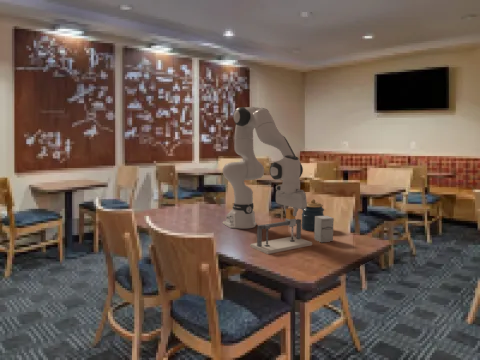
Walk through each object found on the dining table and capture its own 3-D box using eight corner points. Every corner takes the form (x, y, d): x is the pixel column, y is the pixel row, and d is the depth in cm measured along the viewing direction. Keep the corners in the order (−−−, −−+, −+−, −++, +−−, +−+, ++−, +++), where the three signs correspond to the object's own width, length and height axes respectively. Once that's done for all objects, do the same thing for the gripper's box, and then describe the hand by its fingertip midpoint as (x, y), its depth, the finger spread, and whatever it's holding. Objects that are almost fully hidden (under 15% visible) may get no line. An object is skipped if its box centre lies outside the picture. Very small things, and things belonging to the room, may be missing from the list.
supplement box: (320, 242, 203) (320, 218, 202) (313, 239, 210) (314, 215, 209) (333, 241, 205) (334, 217, 204) (326, 238, 212) (327, 215, 211)
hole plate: (250, 247, 195) (250, 223, 194) (293, 238, 211) (294, 217, 209) (267, 254, 184) (267, 229, 182) (312, 245, 199) (312, 222, 198)
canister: (324, 231, 226) (325, 201, 224) (301, 231, 228) (301, 200, 226) (323, 226, 239) (323, 197, 237) (301, 225, 241) (301, 197, 239)
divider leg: (285, 238, 203) (285, 208, 201) (290, 237, 205) (291, 207, 203) (290, 240, 199) (290, 209, 198) (295, 239, 201) (296, 208, 200)
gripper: (310, 189, 192) (309, 218, 194) (283, 185, 209) (282, 211, 211) (300, 190, 189) (299, 219, 190) (273, 186, 206) (273, 212, 207)
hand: (290, 215), depth 201 cm, fingers open, 4 cm apart
